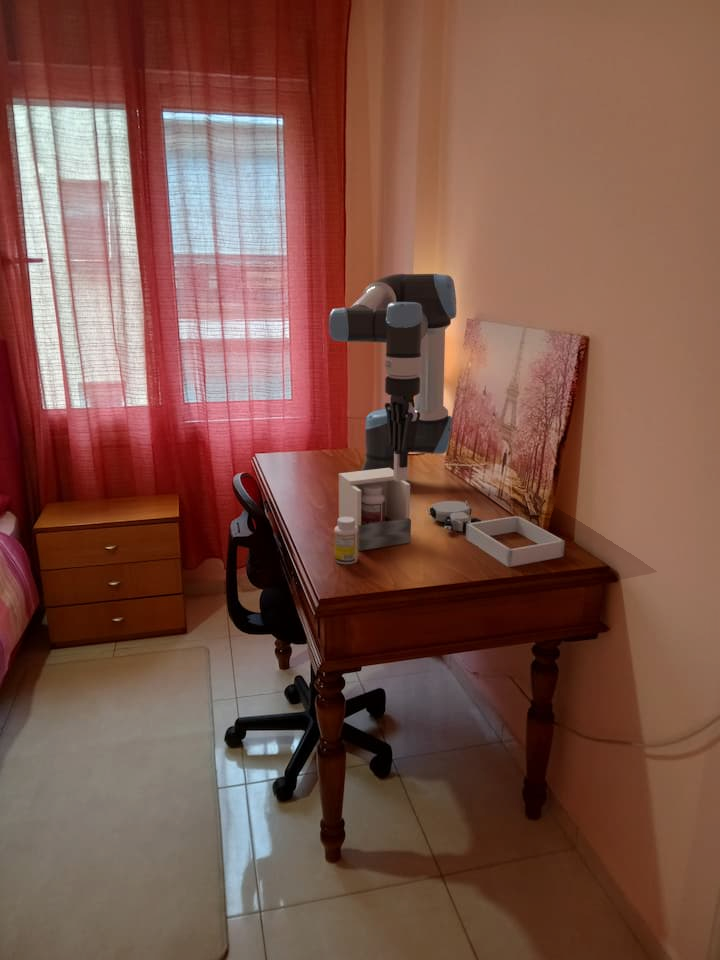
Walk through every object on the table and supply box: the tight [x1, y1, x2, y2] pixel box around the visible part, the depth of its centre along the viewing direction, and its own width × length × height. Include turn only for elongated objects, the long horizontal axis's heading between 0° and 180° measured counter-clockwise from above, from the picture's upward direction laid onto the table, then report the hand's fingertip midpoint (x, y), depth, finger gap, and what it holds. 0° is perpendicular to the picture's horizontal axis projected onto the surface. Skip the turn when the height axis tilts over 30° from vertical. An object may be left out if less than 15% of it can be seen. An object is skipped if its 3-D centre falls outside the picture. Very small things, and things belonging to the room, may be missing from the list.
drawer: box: [358, 516, 412, 552], centre depth 171 cm, size 14×12×6 cm
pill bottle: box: [361, 484, 385, 525], centre depth 171 cm, size 6×6×11 cm
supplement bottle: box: [333, 517, 359, 565], centre depth 158 cm, size 6×6×10 cm
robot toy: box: [424, 500, 482, 532], centre depth 182 cm, size 12×4×15 cm
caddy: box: [338, 468, 411, 551], centre depth 171 cm, size 14×12×16 cm
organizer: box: [465, 515, 566, 568], centre depth 167 cm, size 16×19×4 cm
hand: (400, 479), depth 155 cm, fingers closed
